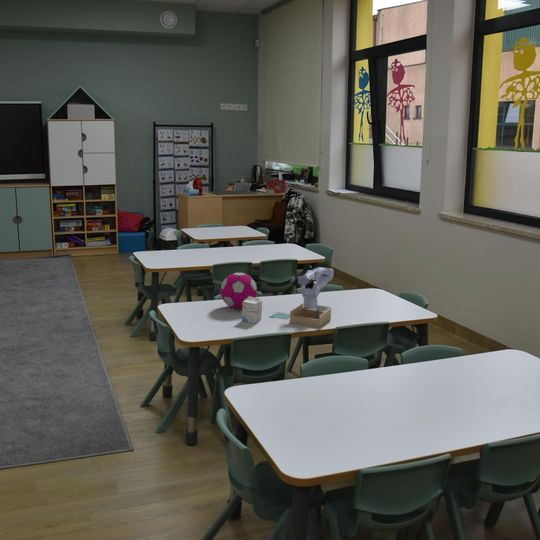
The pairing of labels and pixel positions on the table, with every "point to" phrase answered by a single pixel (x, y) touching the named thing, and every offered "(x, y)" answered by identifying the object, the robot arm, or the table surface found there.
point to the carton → (298, 318)
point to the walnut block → (311, 313)
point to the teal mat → (281, 315)
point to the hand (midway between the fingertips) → (299, 285)
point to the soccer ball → (238, 289)
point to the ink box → (252, 310)
